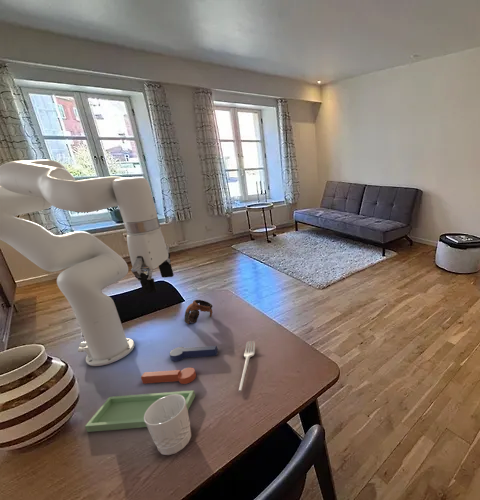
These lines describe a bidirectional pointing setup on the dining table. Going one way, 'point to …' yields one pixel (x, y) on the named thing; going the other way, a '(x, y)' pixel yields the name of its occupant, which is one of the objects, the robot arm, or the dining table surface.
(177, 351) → the blue spoon
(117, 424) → the tray
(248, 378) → the dining table surface
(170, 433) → the white cup
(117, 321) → the robot arm
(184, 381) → the terracotta spoon
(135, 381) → the dining table surface
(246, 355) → the fork
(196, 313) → the orange headphones
